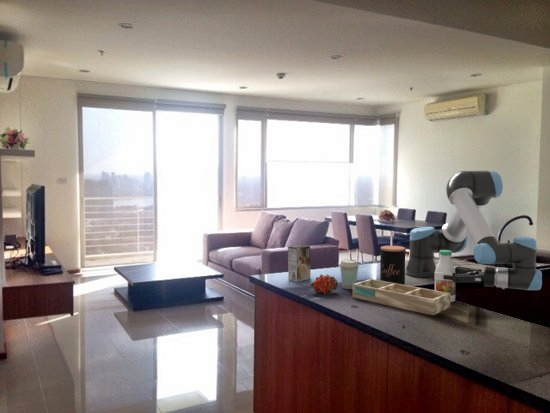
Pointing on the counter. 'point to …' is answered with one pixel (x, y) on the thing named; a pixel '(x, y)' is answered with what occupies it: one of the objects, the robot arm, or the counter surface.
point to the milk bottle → (445, 267)
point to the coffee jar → (392, 264)
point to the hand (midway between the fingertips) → (436, 272)
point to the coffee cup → (349, 273)
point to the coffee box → (299, 263)
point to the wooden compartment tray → (402, 296)
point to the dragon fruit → (324, 284)
